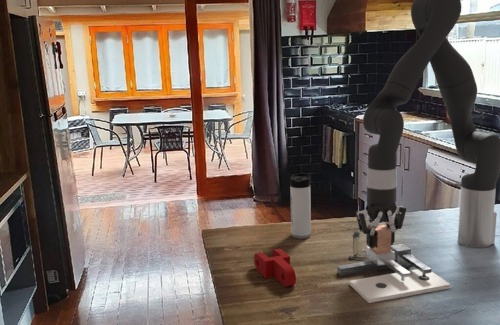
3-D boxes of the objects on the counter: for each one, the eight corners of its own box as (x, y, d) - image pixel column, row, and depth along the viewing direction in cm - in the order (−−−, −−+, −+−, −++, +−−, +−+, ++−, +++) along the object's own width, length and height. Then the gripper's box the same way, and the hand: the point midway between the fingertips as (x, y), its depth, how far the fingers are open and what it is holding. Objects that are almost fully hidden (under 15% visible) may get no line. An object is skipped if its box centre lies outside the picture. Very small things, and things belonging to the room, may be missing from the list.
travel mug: (312, 232, 160) (312, 173, 156) (308, 239, 154) (307, 178, 150) (294, 231, 162) (293, 172, 158) (289, 238, 156) (287, 177, 152)
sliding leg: (382, 257, 136) (383, 223, 134) (415, 281, 121) (416, 243, 119) (366, 259, 135) (366, 225, 132) (397, 284, 120) (398, 246, 118)
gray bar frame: (408, 259, 137) (408, 242, 136) (441, 281, 123) (442, 263, 122) (335, 271, 132) (335, 253, 131) (361, 296, 118) (362, 276, 117)
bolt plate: (425, 271, 130) (425, 267, 129) (450, 288, 120) (450, 283, 120) (349, 284, 124) (349, 280, 124) (369, 303, 115) (369, 298, 114)
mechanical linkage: (254, 267, 136) (253, 250, 135) (277, 262, 139) (277, 246, 138) (279, 292, 122) (278, 273, 121) (304, 286, 125) (304, 268, 123)
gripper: (398, 178, 133) (396, 237, 137) (349, 183, 129) (349, 244, 133) (414, 184, 126) (412, 247, 130) (363, 191, 122) (362, 255, 126)
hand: (380, 245), depth 131 cm, fingers open, 5 cm apart
